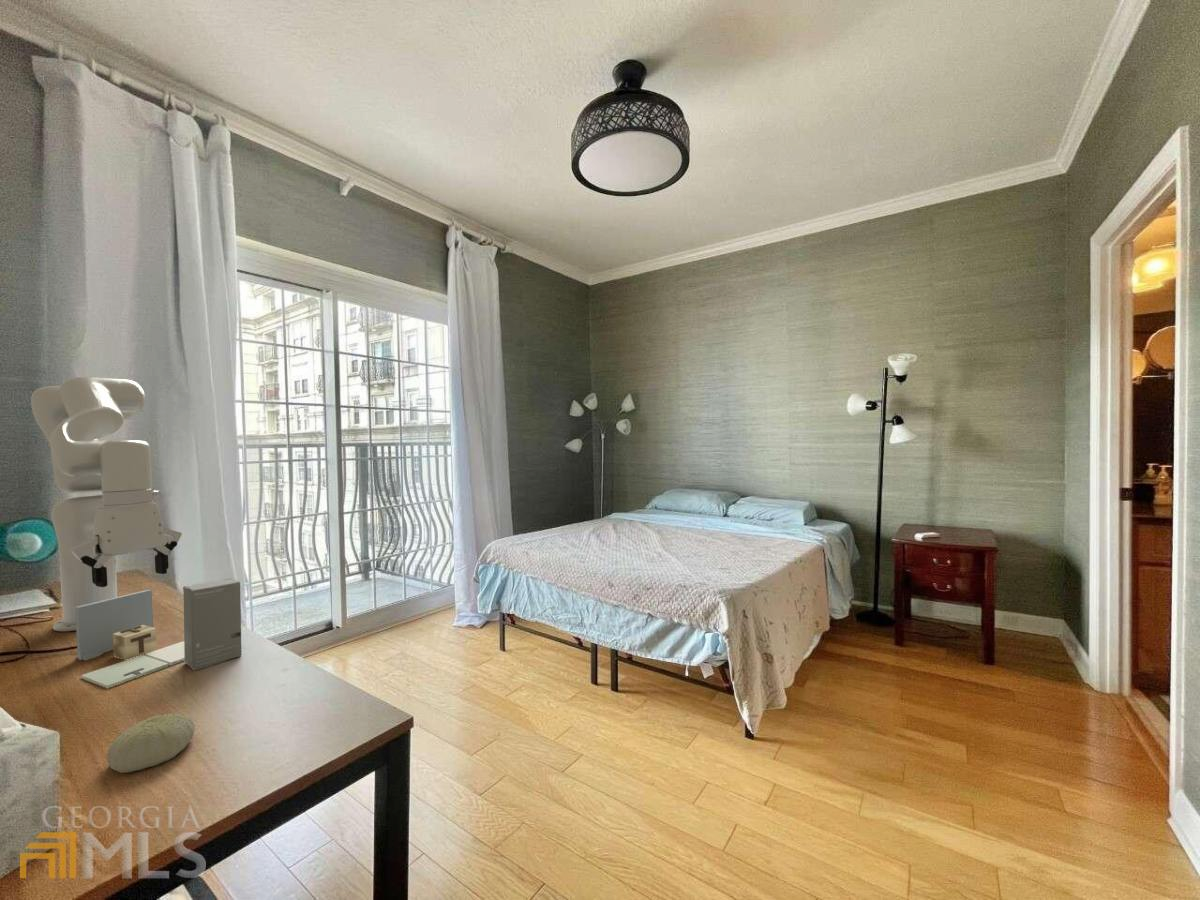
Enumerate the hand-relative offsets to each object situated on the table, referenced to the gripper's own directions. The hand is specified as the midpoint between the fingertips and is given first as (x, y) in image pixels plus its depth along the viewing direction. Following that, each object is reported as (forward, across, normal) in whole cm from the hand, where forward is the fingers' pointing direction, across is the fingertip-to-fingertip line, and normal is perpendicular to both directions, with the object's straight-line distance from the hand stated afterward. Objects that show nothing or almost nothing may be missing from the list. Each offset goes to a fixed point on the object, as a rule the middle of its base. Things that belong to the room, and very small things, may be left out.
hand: (132, 579), depth 100 cm
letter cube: (+16, 0, -1) cm, 16 cm away
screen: (+16, 0, -8) cm, 18 cm away
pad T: (+16, +5, +8) cm, 19 cm away
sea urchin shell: (+17, +16, +44) cm, 50 cm away
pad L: (+16, -5, +8) cm, 19 cm away
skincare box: (+17, -5, +18) cm, 25 cm away
